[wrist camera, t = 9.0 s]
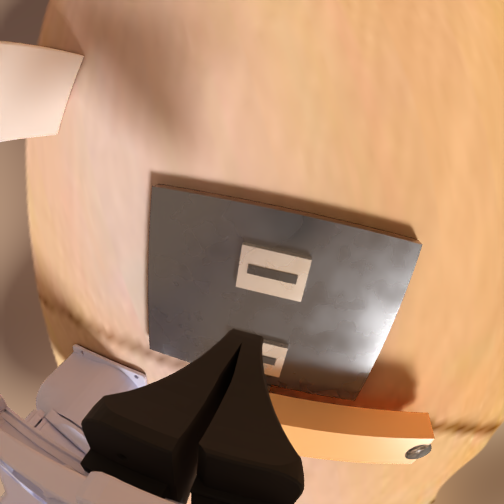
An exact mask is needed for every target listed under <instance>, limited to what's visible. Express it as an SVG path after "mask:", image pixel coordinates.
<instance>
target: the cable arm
mask: <svg viewBox="0 0 504 504" xmlns="http://www.w3.org/2000/svg"><path fill="white" fill-rule="evenodd" d="M269 395H270V399H271V402H272V405H273V407H274V410H275V413H276V415H277V417H278V419H279V422H280V424H281V426H282V428H283V430H284V432H285V434H286V436H287V437H288V439H289V441H290V443H291V444H292V446H293V447H294V449H295V450H296V452H297V453H298V455H299V456H304V457H311V458H318V459H326V460H335V461H346V462H359V463H378V464H413V463H414V461H415V460H416V459H418V458H421V457H423V456H425V455H427V454H428V453H429V452H430V451H431V442H432V441H433V440H434V439H435V438H434V434H433V430H432V426H431V422H430V418H429V414H428V413H420V412H402V411H389V410H378V409H368V408H359V407H351V406H343V405H336V404H329V403H322V402H316V401H310V400H304V399H299V398H293V397H288V396H283V395H278V394H273V393H269Z"/></svg>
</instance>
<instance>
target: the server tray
mask: <svg viewBox="0 0 504 504" xmlns="http://www.w3.org/2000/svg"><path fill="white" fill-rule="evenodd" d="M421 247H422V244H421V243H420V242H419V240H417V239H413V238H409V237H406V236H402V235H398V234H394V233H390V232H387V231H383V230H379V229H375V228H371V227H367V226H363V225H359V224H354V223H350V222H346V221H342V220H338V219H333V218H329V217H325V216H320V215H316V214H312V213H307V212H303V211H298V210H293V209H289V208H284V207H279V206H275V205H270V204H265V203H260V202H255V201H250V200H245V199H240V198H235V197H230V196H224V195H219V194H214V193H208V192H203V191H197V190H191V189H186V188H180V187H174V186H168V185H162V184H158V185H155V186H152V196H151V212H150V231H149V263H148V311H149V343H150V349H152V350H155V351H157V352H160V353H163V354H166V355H169V356H172V357H175V358H178V359H181V360H184V361H187V362H190V363H192V362H193V361H194V360H196V359H197V358H199V357H200V356H202V355H203V354H204V353H205V352H207V351H208V350H209V349H210V348H212V347H213V346H214V345H215V344H216V343H217V342H218V341H220V340H221V339H222V338H223V337H224V336H225V335H226V334H227V333H228V332H229V331H230V330H231V329H236V330H240V331H244V332H248V333H252V334H256V335H260V336H262V337H263V338H264V340H263V346H262V356H263V367H264V374H265V379H266V384H267V388H268V392H269V391H270V388H271V385H275V386H279V387H283V388H288V389H293V390H298V391H302V392H307V393H313V394H318V395H323V396H329V397H335V398H341V399H347V400H354V401H355V399H356V397H357V396H358V394H359V392H360V390H361V388H362V386H363V384H364V383H365V381H366V379H367V377H368V375H369V373H370V371H371V369H372V367H373V365H374V363H375V361H376V359H377V357H378V355H379V353H380V350H381V348H382V346H383V344H384V342H385V340H386V338H387V335H388V333H389V331H390V329H391V326H392V324H393V322H394V319H395V317H396V315H397V312H398V310H399V307H400V305H401V302H402V300H403V297H404V295H405V292H406V290H407V287H408V284H409V282H410V279H411V276H412V273H413V271H414V268H415V265H416V262H417V259H418V256H419V253H420V250H421Z"/></svg>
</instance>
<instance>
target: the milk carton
mask: <svg viewBox="0 0 504 504" xmlns="http://www.w3.org/2000/svg"><path fill="white" fill-rule="evenodd" d="M83 58H84V56H83V55H80V54H76V53H71V52H67V51H62V50H58V49H53V48H48V47H43V46H37V45H30V44H23V43H14V42H7V41H0V142H2V141H9V140H15V139H23V138H30V137H38V136H48V135H57V134H58V131H59V128H60V124H61V121H62V117H63V114H64V111H65V108H66V104H67V101H68V98H69V95H70V92H71V90H72V87H73V84H74V81H75V78H76V76H77V73H78V70H79V68H80V65H81V63H82V60H83Z"/></svg>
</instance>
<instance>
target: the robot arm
mask: <svg viewBox="0 0 504 504" xmlns="http://www.w3.org/2000/svg"><path fill="white" fill-rule="evenodd" d="M263 340H264V338H263V337H262V336H260V335H256V334H252V333H248V332H244V331H240V330H236V329H231V330H230V331H229V332H228V333H227V334H226V335H225V336H224V337H223V338H222V339H221V340H220V341H218V342H217V343H216V344H215V345H214V346H213V347H212V348H210V349H209V350H208V351H207V352H205V353H204V354H203V355H202V356H200V357H199V358H197V359H196V360H194V361H193V362H192V363H190V364H189V365H187V366H185V367H184V368H182V369H180V370H179V371H177V372H175V373H173V374H171V375H169V376H167V377H165V378H163V379H161V380H159V381H156V382H154V383H151V384H148V385H147V378H146V376H145V375H144V374H143V373H141V372H138V371H136V370H133V369H131V368H128V367H126V366H123V365H121V364H119V363H116V362H114V361H112V360H109V359H107V358H105V357H103V356H100V355H98V354H96V353H94V352H92V351H90V350H87V349H85V348H83V347H81V346H79V345H77V344H74V345H73V351H74V352H73V353H72V354H71V355H70V356H69V357H68V358H67V359H66V360H65V361H64V362H63V363H62V364H61V365H60V366H59V367H58V368H57V369H56V370H55V371H54V372H53V373H51V375H50V376H49V377H47V378H46V379H45V381H44V382H43V383H42V385H41V387H40V389H39V391H38V394H37V397H36V407H37V410H33V411H32V412H31V413H30V414H29V415H28V416H27V417H26V418H25V419H23V418H21V417H20V416H19V415H18V414H16V413H15V412H14V411H12V410H11V409H10V408H9V407H8V406H7V404H6V402H5V400H4V398H3V397H2V395H1V394H0V478H1V481H2V484H3V486H4V489H5V493H4V494H3V495H2V496H1V498H0V504H186V503H187V500H188V497H189V495H190V492H191V504H294V503H295V502H296V500H297V499H298V498H299V497H300V496H301V494H302V492H303V490H304V473H303V466H302V461H301V458H300V456H299V455H298V453H297V452H296V450H295V449H294V447H293V446H292V444H291V443H290V441H289V439H288V437H287V436H286V434H285V432H284V430H283V428H282V426H281V424H280V422H279V419H278V417H277V415H276V413H275V410H274V407H273V405H272V402H271V399H270V395H269V392H268V388H267V384H266V379H265V374H264V367H263V356H262V346H263Z"/></svg>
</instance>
